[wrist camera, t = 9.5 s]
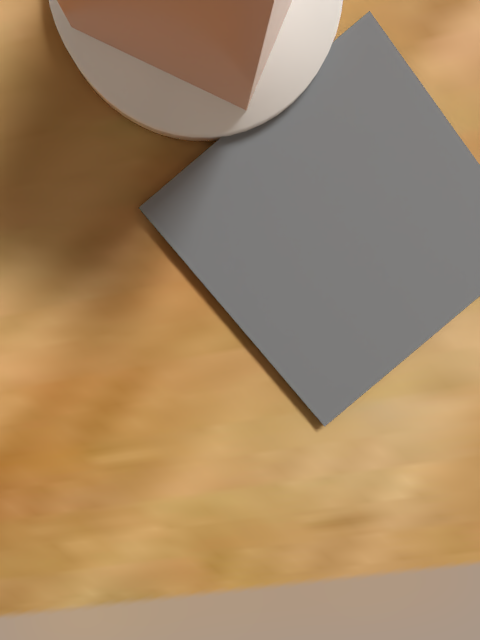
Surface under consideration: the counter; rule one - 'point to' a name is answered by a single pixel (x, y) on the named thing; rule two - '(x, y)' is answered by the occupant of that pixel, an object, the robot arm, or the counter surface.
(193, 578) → the counter surface
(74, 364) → the counter surface
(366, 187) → the mat
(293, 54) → the plate
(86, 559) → the counter surface
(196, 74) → the pink knobbed box
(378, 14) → the counter surface
